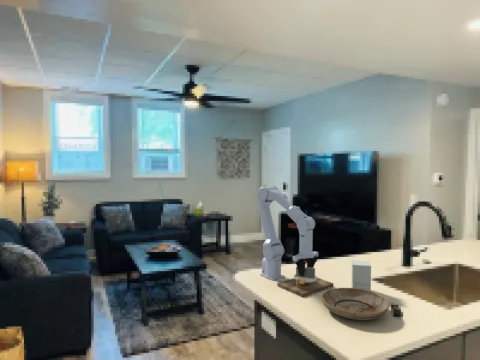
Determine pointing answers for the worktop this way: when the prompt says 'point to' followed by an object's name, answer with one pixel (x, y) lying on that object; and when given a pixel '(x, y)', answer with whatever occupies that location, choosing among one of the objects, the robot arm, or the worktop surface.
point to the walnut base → (304, 286)
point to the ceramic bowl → (355, 303)
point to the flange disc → (306, 275)
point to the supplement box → (361, 275)
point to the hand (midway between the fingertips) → (305, 274)
